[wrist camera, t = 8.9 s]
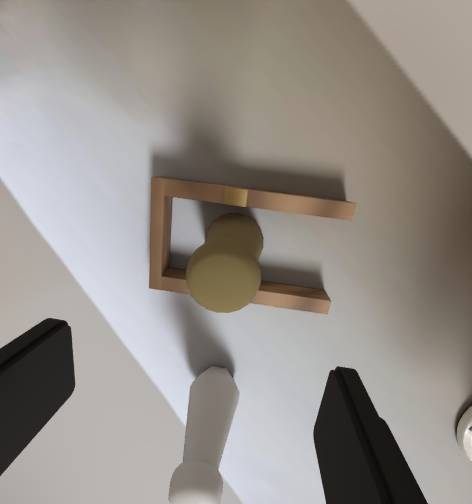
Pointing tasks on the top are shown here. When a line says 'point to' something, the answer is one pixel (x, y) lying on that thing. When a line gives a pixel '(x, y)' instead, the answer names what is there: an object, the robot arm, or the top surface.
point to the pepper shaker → (226, 264)
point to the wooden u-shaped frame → (244, 197)
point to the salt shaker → (205, 438)
